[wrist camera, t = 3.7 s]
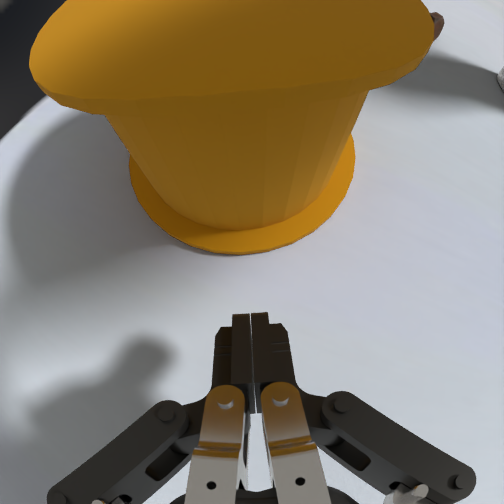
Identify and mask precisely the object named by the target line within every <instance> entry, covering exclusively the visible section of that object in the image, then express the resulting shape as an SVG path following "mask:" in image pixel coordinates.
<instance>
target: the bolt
mask: <svg viewBox="0 0 504 504" xmlns="http://www.w3.org/2000/svg"><path fill="white" fill-rule="evenodd" d="M430 15H431V18H432V20H433V22H434V40H435V39H436V38H437V37H438V36H439V35H440V33H441V31H442V28H443V26H444V19H443V16H441V15H440V14H438V13H437V12H434V13H430Z"/></svg>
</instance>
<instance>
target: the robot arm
mask: <svg viewBox="0 0 504 504" xmlns="http://www.w3.org/2000/svg"><path fill="white" fill-rule="evenodd" d="M497 80H498V82H499V84H500V86H501V88H502V90H503V91H504V67H503V68H502V70H501V71H500V73H499V74H498V76H497ZM251 327H252V336H251ZM253 371H254V372H253ZM254 387H255V393H254ZM255 397H256V407H257V413H262V423H263V433H264V440H265V446H266V452H267V459H268V465H269V472H270V480H271V486H272V488H271V489H267V490H264V491H260V492H252V491H248V454H249V436H250V426H251V423H250V414H254V413H255ZM316 445H317V446H318V447H319V448H320V449H321V450H323V451H324V452H325V453H326V454H328V455H329V456H330V457H332V458H333V459H334V460H336V461H337V462H338V463H340V464H341V465H342V466H344V467H345V468H346V469H348V470H349V471H351V472H352V473H353V474H355V475H356V476H358V477H359V478H361V479H362V480H363V481H365V482H366V483H368V484H369V485H371V486H372V487H374V488H375V489H377V490H378V491H380V492H381V493H383V494H384V495H386V497H385V499H384V501H383V504H454V503H456V502H458V501H460V500H462V499H464V498H466V497H467V496H469V495H470V494H471V493H472V491H473V489H474V487H475V485H476V475H475V472H474V471H473V469H472V468H471V467H469V466H467V465H466V464H464V463H462V462H460V461H458V460H457V459H455V458H453V457H451V456H450V455H448V454H446V453H445V452H443V451H441V450H439V449H438V448H436V447H434V446H433V445H431V444H429V443H428V442H426V441H424V440H423V439H421V438H419V437H418V436H416V435H415V434H413V433H411V432H410V431H408V430H407V429H405V428H403V427H402V426H400V425H399V424H397V423H396V422H394V421H392V420H391V419H389V418H388V417H386V416H385V415H383V414H382V413H380V412H379V411H377V410H376V409H374V408H373V407H371V406H370V405H368V404H367V403H365V402H364V401H362V400H361V399H359V398H358V397H356V396H355V395H353V394H351V393H349V392H345V391H338V392H334V393H332V394H330V395H328V396H327V397H322V396H315V395H311V394H308V393H306V392H304V391H303V390H301V389H300V388H299V387H298V385H297V383H296V380H295V375H294V369H293V363H292V356H291V351H290V344H289V338H288V332H287V330H286V329H285V328H284V327H283V325H282V324H281V323H278V324H269V318H268V312H263V313H251V324H250V314H233V315H232V327H221V328H220V329H219V331H218V333H217V334H216V336H215V348H214V361H213V375H212V386H211V390H210V391H209V393H208V394H207V395H206V396H205V397H204V398H203V399H201V400H199V401H197V402H194V403H190V404H187V405H183V406H182V405H181V404H179V403H178V402H175V401H172V400H165V401H161V402H159V403H157V404H156V405H154V406H153V407H152V408H151V409H150V410H148V411H147V412H146V413H145V414H144V415H143V416H141V417H140V418H139V419H138V420H137V421H135V422H134V423H133V424H132V425H131V426H129V427H128V428H127V429H126V430H125V431H123V432H122V433H121V434H120V435H119V436H117V437H116V438H115V439H114V440H113V441H111V442H110V443H109V444H108V445H106V446H105V447H104V448H103V449H101V450H100V451H99V452H98V453H96V454H95V455H94V456H93V457H91V458H90V459H89V460H87V461H86V462H85V463H84V464H82V465H81V466H80V467H78V468H77V469H76V470H75V471H73V472H72V473H71V474H69V475H68V476H67V477H65V478H64V479H63V480H61V481H60V482H59V483H57V484H56V485H55V486H53V487H52V488H51V489H50V490H49V492H48V494H47V504H142V503H143V502H145V501H146V500H147V499H148V498H149V497H151V496H152V495H153V494H154V493H155V492H156V491H158V490H159V489H160V488H161V487H162V486H163V485H164V484H165V483H167V482H168V481H169V480H170V479H171V478H172V477H173V476H174V475H175V474H176V473H177V472H179V471H180V470H181V469H182V468H183V467H184V466H185V465H186V464H187V463H188V462H189V461H190V460H191V464H190V470H189V477H188V483H187V490H186V494H184V495H182V496H180V497H178V498H176V499H175V500H173V501H172V502H171V503H170V504H359V503H357V502H356V501H355V500H353V499H352V498H351V497H350V496H348V495H347V494H345V493H344V492H342V491H340V490H338V489H335V488H333V487H329V486H327V484H326V480H325V476H324V472H323V469H322V465H321V461H320V457H319V453H318V449H317V446H316Z"/></svg>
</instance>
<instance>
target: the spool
mask: <svg viewBox="0 0 504 504" xmlns="http://www.w3.org/2000/svg"><path fill="white" fill-rule="evenodd" d="M433 41H434V22H433V20H432V18H431V15H430V13H429V11H428V9H427V8H426V6H425V5H424V4H423V2H422V1H421V0H67V1H66V2H65V3H64V4H63V5H62V6H61V7H60V8H59V9H58V10H57V11H56V12H55V13H54V14H53V15H52V16H51V17H50V18H49V20H48V21H47V22H46V24H45V25H44V26H43V28H42V29H41V31H40V32H39V34H38V36H37V38H36V40H35V42H34V44H33V46H32V49H31V54H30V61H29V67H30V70H31V72H32V75H33V78H34V80H35V81H36V83H37V84H38V85H39V87H40V88H41V89H42V91H43V92H44V93H45V94H47V95H48V96H49V97H51V98H52V99H53V100H55V101H56V102H57V103H59V104H60V105H62V106H66V107H69V108H73V109H77V110H80V111H84V112H87V113H90V114H99V115H105V116H106V118H107V119H108V121H109V123H110V124H111V126H112V127H113V129H114V130H115V132H116V133H117V135H118V136H119V138H120V139H121V141H122V142H123V144H124V145H125V147H126V148H127V150H128V151H129V153H130V160H129V170H130V177H131V184H132V186H133V189H134V191H135V194H136V196H137V199H138V201H139V203H140V204H141V206H142V207H143V208H144V210H145V211H146V212H147V214H148V215H149V217H150V218H151V219H152V220H153V221H154V222H155V223H156V224H157V225H158V226H160V227H161V228H162V229H163V230H164V231H166V232H167V233H168V234H169V235H170V236H172V237H174V238H176V239H178V240H180V241H182V242H184V243H186V244H188V245H189V246H192V247H195V248H199V249H202V250H206V251H210V252H213V253H221V254H235V255H245V254H254V253H262V252H268V251H271V250H275V249H278V248H281V247H284V246H287V245H290V244H293V243H294V242H296V241H298V240H300V239H302V238H303V237H305V236H307V235H309V234H311V233H312V232H314V231H315V230H316V229H317V228H318V227H320V226H321V225H322V224H323V223H324V222H325V221H326V220H328V219H329V218H330V217H331V215H332V214H333V213H334V211H335V210H336V209H337V207H338V206H339V204H340V203H341V202H342V200H343V199H344V197H345V195H346V193H347V190H348V188H349V185H350V183H351V181H352V178H353V173H354V165H355V150H354V141H353V138H352V135H351V131H352V129H353V127H354V125H355V122H356V120H357V118H358V115H359V113H360V111H361V108H362V106H363V103H364V101H365V99H366V96H367V94H368V92H369V90H372V89H375V88H379V87H382V86H386V85H389V84H391V83H393V82H395V81H396V80H398V79H400V78H401V77H403V76H405V75H406V74H408V73H410V72H412V71H413V70H415V69H416V68H417V67H418V65H419V64H420V62H421V61H422V60H423V58H424V57H425V55H426V54H427V52H428V50H429V49H430V47H431V45H432V43H433Z"/></svg>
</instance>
